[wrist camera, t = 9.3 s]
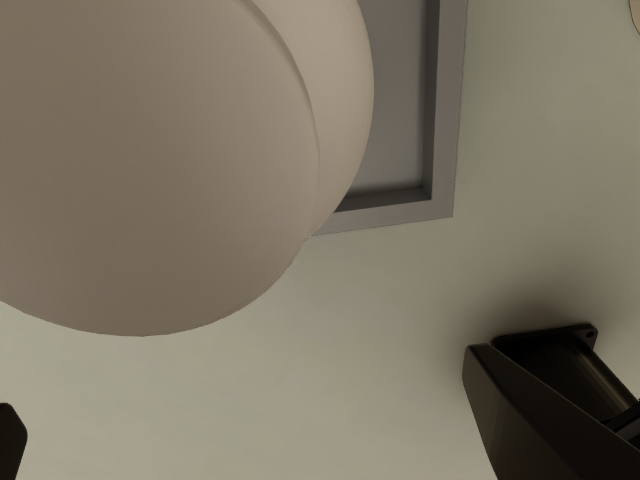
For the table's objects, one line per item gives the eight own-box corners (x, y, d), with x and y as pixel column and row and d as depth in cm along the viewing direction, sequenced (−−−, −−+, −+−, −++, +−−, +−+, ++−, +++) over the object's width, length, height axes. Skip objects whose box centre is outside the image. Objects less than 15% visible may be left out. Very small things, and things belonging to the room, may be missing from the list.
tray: (461, -278, 13) (490, -319, 11) (437, 198, 21) (452, 216, 20) (-154, -227, 12) (-221, -262, 11) (65, 247, 20) (47, 271, 19)
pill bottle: (73, 40, 16) (-476, 182, 4) (204, -139, 14) (-151, -869, 2) (232, 175, 19) (175, 470, 7) (358, 46, 17) (560, 172, 5)
